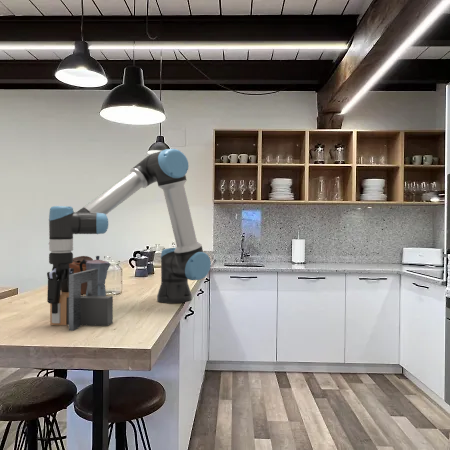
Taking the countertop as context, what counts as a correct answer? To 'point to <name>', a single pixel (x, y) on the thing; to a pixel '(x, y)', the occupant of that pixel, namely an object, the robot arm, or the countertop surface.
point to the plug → (87, 310)
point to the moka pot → (102, 272)
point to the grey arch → (75, 294)
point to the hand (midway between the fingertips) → (60, 320)
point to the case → (76, 268)
